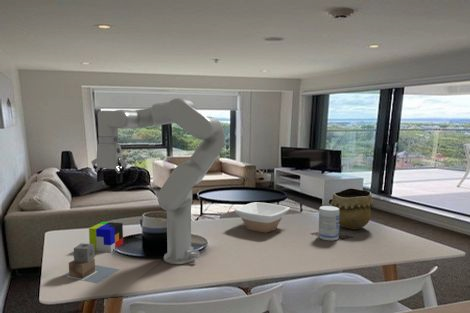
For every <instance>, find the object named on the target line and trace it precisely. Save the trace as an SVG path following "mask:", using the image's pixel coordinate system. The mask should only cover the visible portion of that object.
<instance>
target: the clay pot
mask: <svg viewBox="0 0 470 313" xmlns="http://www.w3.org/2000/svg"><path fill="white" fill-rule="evenodd" d="M372 196H373V195H372V192H371V191H370V190H368V189H359V188H354V187H350V188H345V189H343V190H340V191H336V192H335V191H334V192H333V195H332V199H331V202H330V204H331V206H333V207H337V208H339V226H342V227H343V228H345V229H348V230H350V229H351V230H359V229H362V228H364V227H365V226H366V225H368V224H369V222H370V220H371V218H372V210H371V208H372V207H374V205H375V204H374V201H373V197H372Z"/></svg>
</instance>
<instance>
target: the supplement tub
mask: <svg viewBox="0 0 470 313" xmlns="http://www.w3.org/2000/svg"><path fill="white" fill-rule="evenodd" d="M318 238H319V239H321V240H322V241H332V242H333V241H337V240H339V238H340V224H339V208H337V207H334V206H332V205H323V206H320V207H319V210H318Z"/></svg>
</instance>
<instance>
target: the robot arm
mask: <svg viewBox="0 0 470 313" xmlns="http://www.w3.org/2000/svg"><path fill="white" fill-rule="evenodd" d="M170 124H176V125H177V126H179V127H180V128H181V129H183V131H185V132H187V133H188V134H189V135H190V136H192V137H193V138H196V139H197V140H202V141H201V142H200V144H199V145H198V146H197V148H195V150H194V151H193V153H192V155H191V156H190V157H189V159H188V160H186V161H184V162H181V163H180V164H178V165H177V166H176V167H174V169H173V170H172V172H171V173H170V175H169V176H168V177H167V179H166V180H165V182H164V183H163V185H162V186H161V188H160V189H159V191H158V194H157V202H158V205H159V207H160V208H162V209H163V210H165V211H166V237H167V238H166V239H167V240H166V242H167V245H166V246H167V249H166V250H167V252H166V253H164V256H163V261H164V262H165V263H167V264H170V265H185V264H189V263H191V262H193V261H194V260H195V259H199V258H200V257H201V255H200V251H199V250H194V249H195V248H194V246H192V204H193V190H192V189H193V188H194V186H196V185H198V184H200V183H201V182H203V181H202V180H203V179H204V177H205V175H206V174H207V173H208V171H209V170H210V169H211V167H212V166H213V164H214V163H215V161H216V160H217V158H218V156H219V155H220V154H221V152H222V149H224V145H225V141H226V133H225V129H224V126H223V125H222V123H221V121H220V120H219V119H217V118H216V117H212V116H205V115H204V114H202V113H201V112H199V111H198V110H197V109H196V106H195V104H194V103H193V102H192V101H191V100H189V99H186V98H185V99H184V98H179V97H177V98H176V97H175V98H173V99H171V100H170V101H166V102H159V103H154V104H152V106H151V107H147V108H144V109H143V108H142V109H136V110H129V109H117V110H100V111H98V113H97V125H98V126H97V130H98V132H97V134H98V144H97V147H96V148H97V149H96V158H95V159H93V160H91V164H92V166H93V167H92V168H93V169H94V172H95V173H96V182H97V183H98V182H99V183H100V182H103V181H104V171H103V170H104V169H111V170H115V172H116V174H115V182H116V184H121V183H123V182H124V181H123V180H124V178H123V173H125V171H126V169H127V167H128V164H129V163H128V162H127V161H126V160H123V152H122V147H121V144H120V143H119V142H120V141H121V139H120V137H119V130H120V129H121V130H124V129H125V130H126V129H139V128H145V127H146V128H147V127H153V126H154V127H155V126H156V127H157V126H162V125H170Z"/></svg>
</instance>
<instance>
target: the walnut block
mask: <svg viewBox="0 0 470 313" xmlns="http://www.w3.org/2000/svg"><path fill="white" fill-rule="evenodd" d="M95 265H96V260H95V258H93V259H92V260H90V261H89V262H88V263H87V262H74V259H73V260H72V261H69V262H68V272H69V276H70V277H75V278H81V279H84V278H85V277H87V276H89V275H91V274H92V273H94V272H95Z"/></svg>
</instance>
